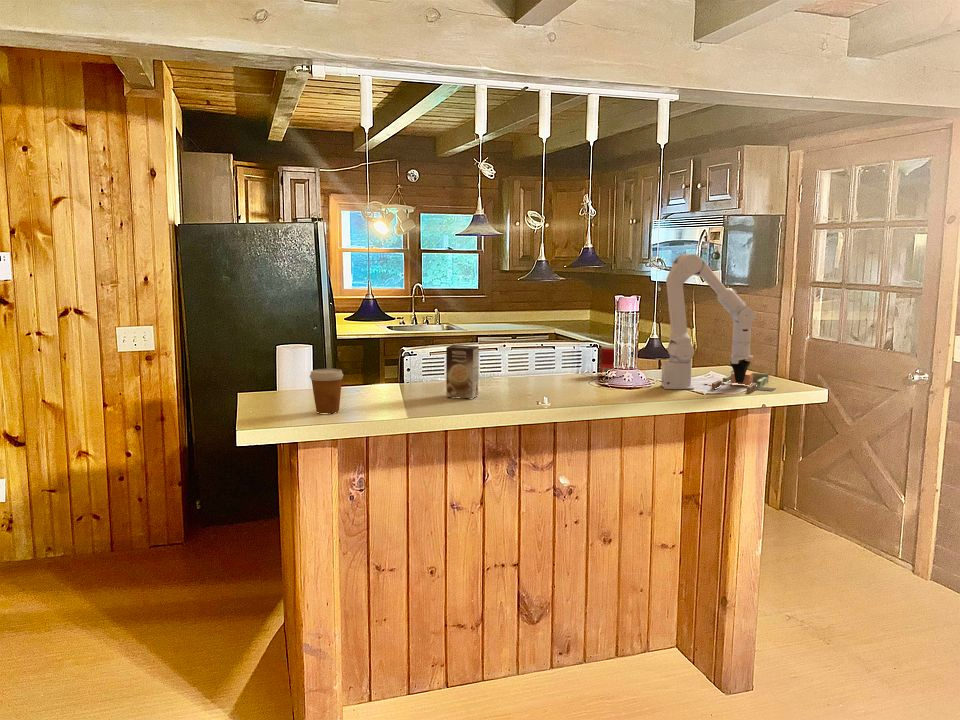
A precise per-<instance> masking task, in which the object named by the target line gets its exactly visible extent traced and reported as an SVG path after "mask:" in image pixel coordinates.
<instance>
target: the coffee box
mask: <svg viewBox="0 0 960 720" xmlns="http://www.w3.org/2000/svg"><path fill="white" fill-rule="evenodd" d="M445 351H446V354H445V355H446V358H445V359H446V363H445V364H446V366H445V367H446V369H445V370H446V373H445V374H446V376H445V377H446V380H445V381H446V383H445V384H446V385H445V387H446V391H445V392H446V394H445V397H446V396H447V397H460V398H474V397H475V396H477V395H478V396H479V372H480V371H479V361H480V360H479V359H480V358H479V356H480V353H479V351H480V347H479V346H477V345H476V346H475V345H462V344H461V345H460V344H452V345H449V346H447V347H446V350H445ZM474 399H475V398H474Z"/></svg>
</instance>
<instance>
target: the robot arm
mask: <svg viewBox="0 0 960 720" xmlns="http://www.w3.org/2000/svg"><path fill="white" fill-rule="evenodd" d="M692 276H697V277H700V278H701V279H702V280H704V281H705V283H706V284H707V285H708V286H709V287H710V288H711V289H712V290H713V291H714V292H715V293H716V294H717V301H718V302H719V303H720V305H721V306H722V307H723V308H724V309H725V310H726V311H727V313H728V314H730V315H729V317H730V319H731V320H732V322H733V324H732V343H731V344H732V345H731V355H730V358H731V361H730V366H731V368H732V371H734V375H735V381H736V383H743V381H744V378H745V374H746V372H748V371H747V370H748V368H749V366H750V364H751V361H749V359H754V355H751V342H752V340H751V339H752V323H753V322H754V320H755V318H756V315H755V314H754V311H753V309H752V308H751V307H749V306H746V305H747V302H746V301H743V300H742V298H741V297H740V296H739V295H738V291H737V289H733V288H731V287H726V286H725V285H724V283H723V282H722V281H721V280H720V279H719V277H718V276H717V275H716V273H715V272H714V271H713V270H712V268H710V266H709V264H708V263H707V262H706V261H705V260H703V259H702V258H701V256H700V255H698V254H695V253H691V254H687V253H682V254H680V255H678V256H677V257H676V258H675V259H674V260H673V261H672V266H671V268H670V269H669V272H668V274H667V276H666V281H665V282H666V283H665V284H666V294H667V302H668V313H669V322H670V323H669V324H670V335H669V338H668V339H669V342H668V345H667V353H668V355H669V358H668V359H669V360H667V361H666V360H665V361H662V364H661V377H660V378H661V382H660V386H661V387H662V388H663V389H664V390H694V389H695V388H694V387H693V385H691V384H692V364H693V363H692V362H693V361H692V359H693V357H694V355H695V348H694V346H693V345H692V342H691V337H690V335H689V333H688V325H687V314H686V304H685V295H684V284H685V283H686V281H688V280H689V279H690V278H691V277H692Z"/></svg>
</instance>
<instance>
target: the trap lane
mask: <svg viewBox="0 0 960 720" xmlns="http://www.w3.org/2000/svg"><path fill="white" fill-rule="evenodd" d="M733 372H734V371H733V370H731V372H730V374H728V375H726V376H724V377H722V380H716V381H715V382H713V383H712V386H711V387H710V388H711V389H715V388H717V387H719V386H720V385H722V386H723V384H722V382H727V381H729V380H731V373H733ZM769 376H770V375H769V373H764V372H753V381H757V382H755V383H753V384H751V385H749V386H747V387H746V394H752V393H753V392H755V391H757V390H756V389H757V388H759V387H764V386H765V385H766V384H768V383H769ZM756 385H757V386H758V387H756Z"/></svg>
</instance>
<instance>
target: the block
mask: <svg viewBox="0 0 960 720" xmlns="http://www.w3.org/2000/svg"><path fill="white" fill-rule="evenodd" d="M753 373H754V372H753V371H746V374H745V378H744V381H743V383H738V384H745V385H750V384H751V383H753V384H754V382H753ZM730 374H731V382H730V384H731V383H736V381H735V375H734V372H733V373H731V372H730Z"/></svg>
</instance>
